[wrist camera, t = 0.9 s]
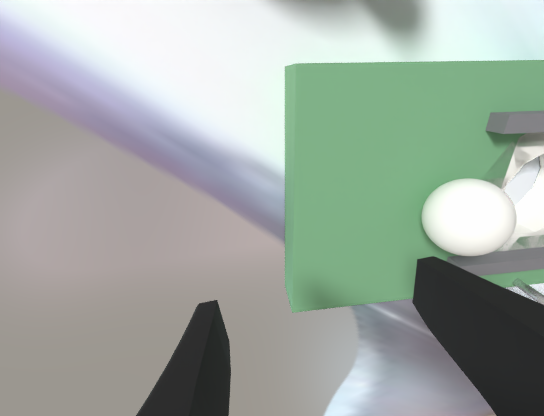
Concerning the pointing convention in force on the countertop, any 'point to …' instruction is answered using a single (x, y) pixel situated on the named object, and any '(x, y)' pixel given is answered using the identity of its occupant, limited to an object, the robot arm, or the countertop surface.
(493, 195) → the ball
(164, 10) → the countertop surface
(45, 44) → the countertop surface
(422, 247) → the mat
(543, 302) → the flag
